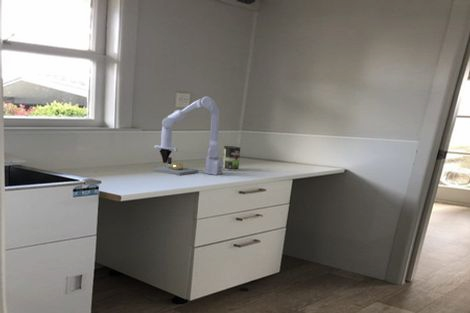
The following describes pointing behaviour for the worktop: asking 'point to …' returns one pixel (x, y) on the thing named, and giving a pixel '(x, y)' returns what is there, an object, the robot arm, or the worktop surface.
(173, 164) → the spiked mace toy
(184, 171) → the grey board
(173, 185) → the worktop surface
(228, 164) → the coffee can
